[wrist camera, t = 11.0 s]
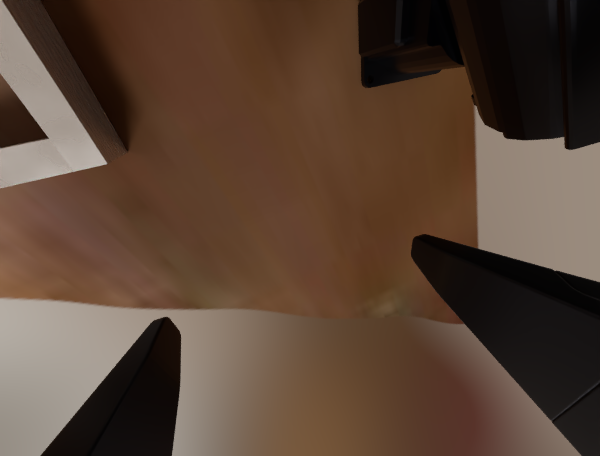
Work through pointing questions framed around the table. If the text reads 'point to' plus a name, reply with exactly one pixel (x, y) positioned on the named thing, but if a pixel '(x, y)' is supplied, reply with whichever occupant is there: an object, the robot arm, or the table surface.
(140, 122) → the table surface
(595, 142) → the robot arm
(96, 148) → the sleeve holder
